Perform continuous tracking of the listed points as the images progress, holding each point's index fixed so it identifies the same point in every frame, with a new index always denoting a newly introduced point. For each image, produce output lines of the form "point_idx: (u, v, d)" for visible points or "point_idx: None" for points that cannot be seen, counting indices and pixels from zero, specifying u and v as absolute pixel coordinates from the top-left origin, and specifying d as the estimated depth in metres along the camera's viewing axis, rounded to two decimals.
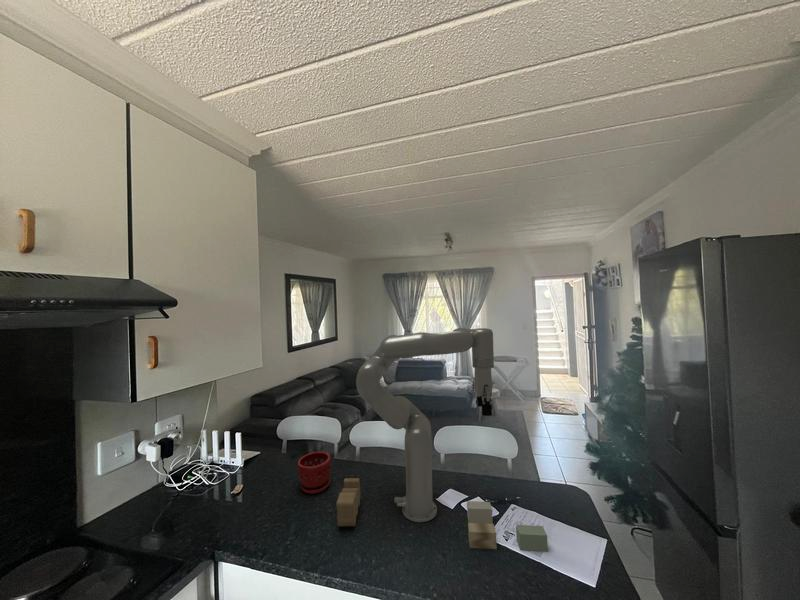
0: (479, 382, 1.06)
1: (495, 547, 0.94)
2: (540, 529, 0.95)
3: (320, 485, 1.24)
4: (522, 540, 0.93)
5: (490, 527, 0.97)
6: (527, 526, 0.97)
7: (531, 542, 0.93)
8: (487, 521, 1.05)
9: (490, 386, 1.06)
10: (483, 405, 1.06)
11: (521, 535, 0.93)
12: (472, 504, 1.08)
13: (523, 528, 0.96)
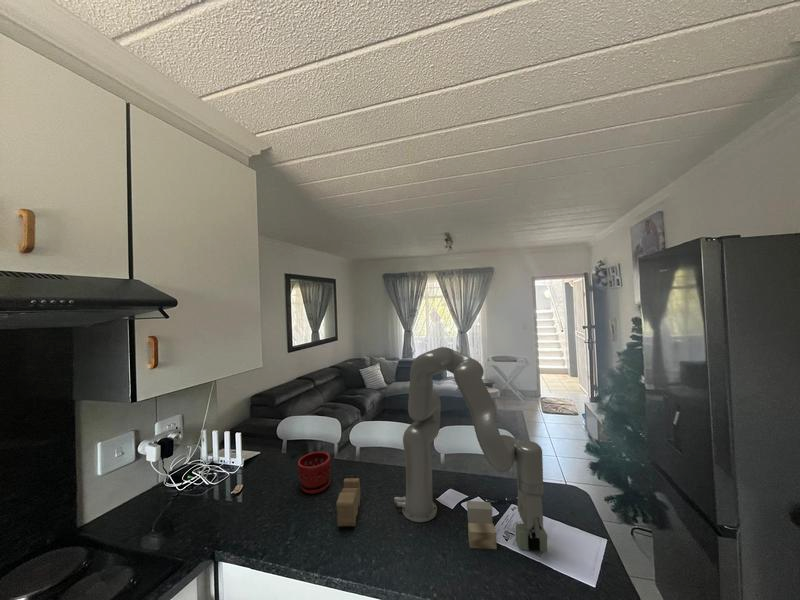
0: (528, 513, 0.91)
1: (495, 547, 0.94)
2: None
3: (320, 485, 1.24)
4: (522, 539, 0.93)
5: (490, 527, 0.97)
6: None
7: None
8: (487, 521, 1.05)
9: (541, 518, 0.90)
10: (530, 538, 0.92)
11: (521, 534, 0.93)
12: (472, 504, 1.08)
13: (523, 527, 0.96)
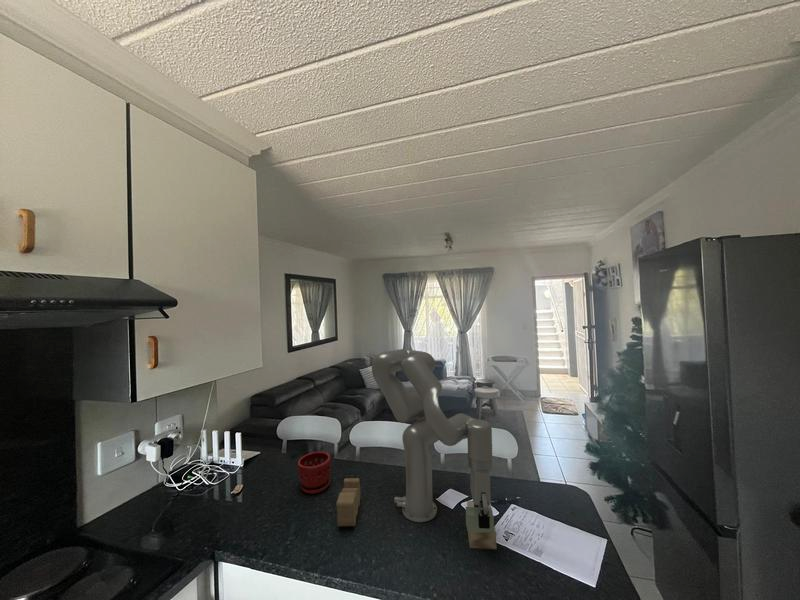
0: (475, 489, 0.92)
1: (495, 547, 0.94)
2: None
3: (320, 485, 1.24)
4: (469, 521, 0.95)
5: None
6: (475, 508, 0.98)
7: (478, 522, 0.95)
8: None
9: (488, 494, 0.92)
10: (480, 516, 0.92)
11: (468, 516, 0.95)
12: (472, 503, 1.08)
13: (471, 510, 0.97)
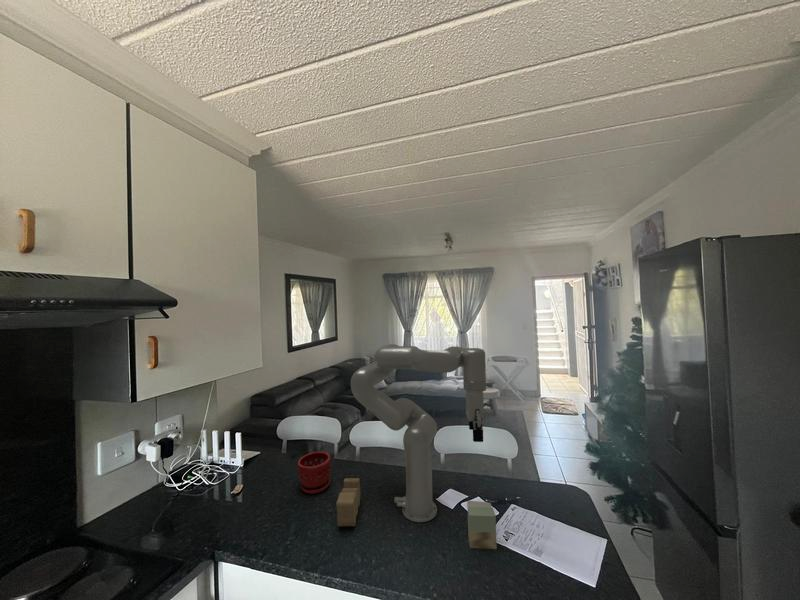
0: (470, 406, 1.01)
1: (495, 547, 0.94)
2: (490, 511, 0.97)
3: (320, 485, 1.24)
4: (471, 521, 0.95)
5: None
6: (477, 508, 0.98)
7: (480, 522, 0.95)
8: None
9: (482, 410, 1.00)
10: (474, 431, 1.00)
11: (470, 516, 0.95)
12: (472, 503, 1.08)
13: (473, 510, 0.97)
